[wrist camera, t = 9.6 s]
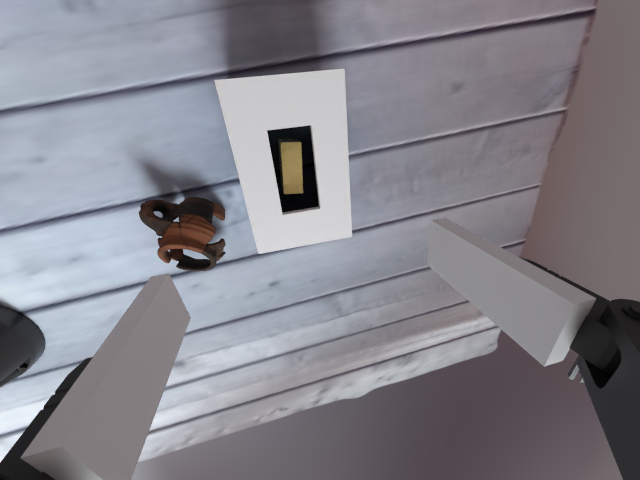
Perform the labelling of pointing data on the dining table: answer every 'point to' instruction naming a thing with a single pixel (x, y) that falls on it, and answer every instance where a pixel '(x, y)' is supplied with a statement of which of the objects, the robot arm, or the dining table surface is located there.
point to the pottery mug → (185, 231)
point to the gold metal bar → (290, 165)
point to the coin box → (256, 160)
